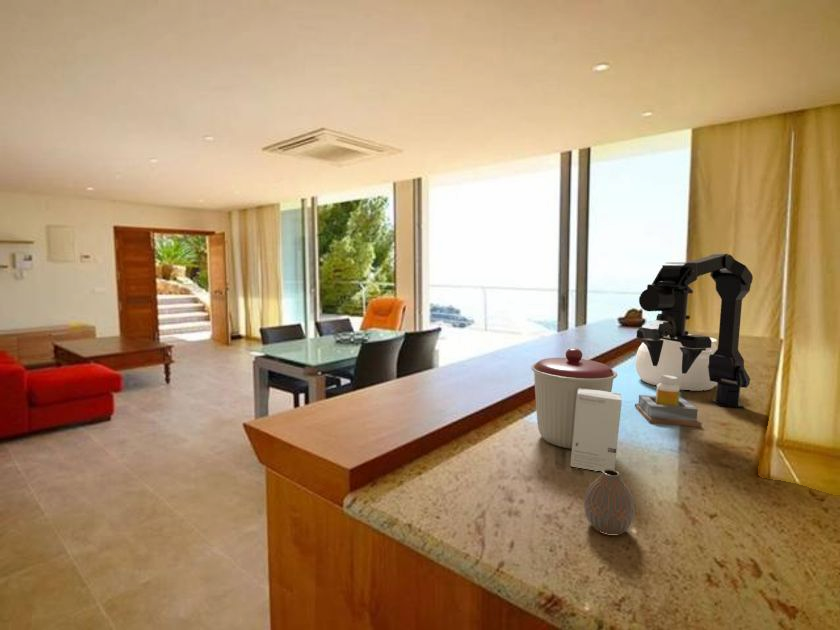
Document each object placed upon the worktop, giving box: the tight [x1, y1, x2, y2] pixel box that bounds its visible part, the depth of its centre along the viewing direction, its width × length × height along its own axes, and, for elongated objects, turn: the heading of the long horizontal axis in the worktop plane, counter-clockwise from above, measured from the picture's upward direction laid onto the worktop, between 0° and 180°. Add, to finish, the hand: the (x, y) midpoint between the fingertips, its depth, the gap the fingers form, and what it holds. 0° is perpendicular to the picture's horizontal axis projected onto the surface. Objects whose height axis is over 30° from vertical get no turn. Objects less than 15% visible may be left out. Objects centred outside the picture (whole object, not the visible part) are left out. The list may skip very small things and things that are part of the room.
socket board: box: [634, 394, 702, 428], centre depth 125 cm, size 14×12×4 cm
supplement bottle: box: [655, 375, 680, 406], centre depth 124 cm, size 5×5×10 cm
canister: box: [530, 348, 618, 450], centre depth 104 cm, size 18×18×21 cm
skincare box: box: [569, 388, 622, 471], centre depth 91 cm, size 8×6×15 cm
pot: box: [634, 333, 718, 392], centre depth 161 cm, size 29×26×16 cm
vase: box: [583, 469, 635, 535], centre depth 69 cm, size 7×7×9 cm
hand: (669, 369), depth 123 cm, fingers open, 9 cm apart
